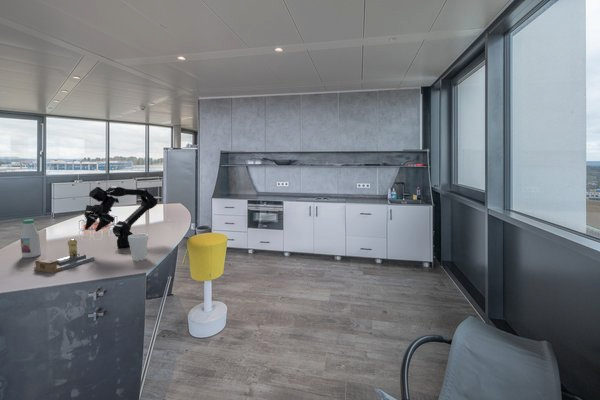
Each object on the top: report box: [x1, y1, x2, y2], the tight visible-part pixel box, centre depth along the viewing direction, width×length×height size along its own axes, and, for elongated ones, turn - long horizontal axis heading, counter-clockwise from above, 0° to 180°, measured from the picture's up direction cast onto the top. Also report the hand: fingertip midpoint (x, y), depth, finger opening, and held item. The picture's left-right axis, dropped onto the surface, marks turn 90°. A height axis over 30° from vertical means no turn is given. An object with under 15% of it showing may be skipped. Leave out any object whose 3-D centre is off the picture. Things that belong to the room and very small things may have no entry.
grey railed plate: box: [33, 253, 95, 274], centre depth 153 cm, size 21×12×5 cm, turn 163°
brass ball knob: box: [55, 238, 78, 263], centre depth 154 cm, size 10×4×10 cm, turn 163°
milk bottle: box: [20, 218, 42, 259], centre depth 165 cm, size 8×8×20 cm
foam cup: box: [128, 233, 149, 262], centre depth 163 cm, size 10×9×13 cm
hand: (90, 230), depth 168 cm, fingers open, 9 cm apart
